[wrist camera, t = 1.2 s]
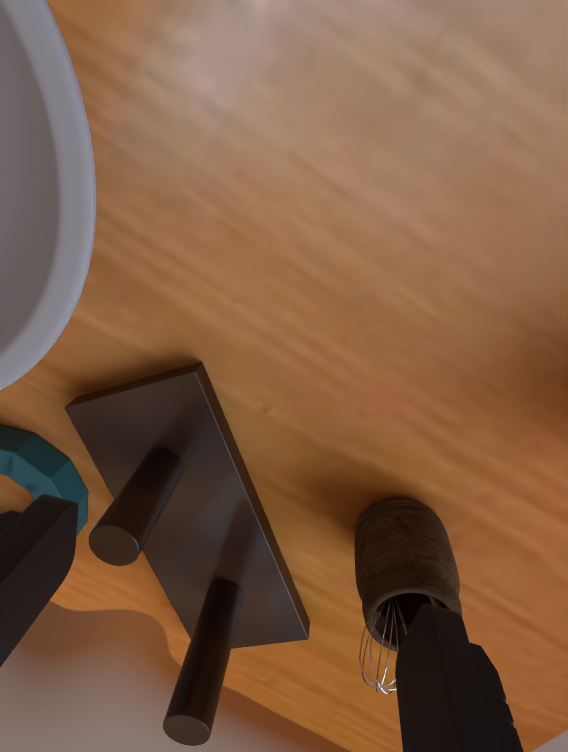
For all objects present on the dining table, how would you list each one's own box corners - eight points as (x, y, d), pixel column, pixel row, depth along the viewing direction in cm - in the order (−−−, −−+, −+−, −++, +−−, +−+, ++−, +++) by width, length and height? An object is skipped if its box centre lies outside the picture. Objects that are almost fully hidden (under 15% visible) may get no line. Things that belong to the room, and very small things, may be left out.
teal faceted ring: (-77, 444, 33) (-107, 463, 31) (43, 410, 30) (20, 428, 28) (-1, 554, 36) (-23, 579, 34) (112, 532, 34) (96, 557, 32)
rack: (76, 396, 30) (-51, 499, 20) (202, 361, 28) (127, 457, 18) (203, 635, 37) (154, 794, 27) (310, 621, 35) (297, 788, 25)
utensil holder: (365, 485, 30) (377, 664, 19) (462, 507, 29) (532, 700, 18) (344, 553, 32) (344, 747, 21) (434, 574, 32) (481, 781, 21)
